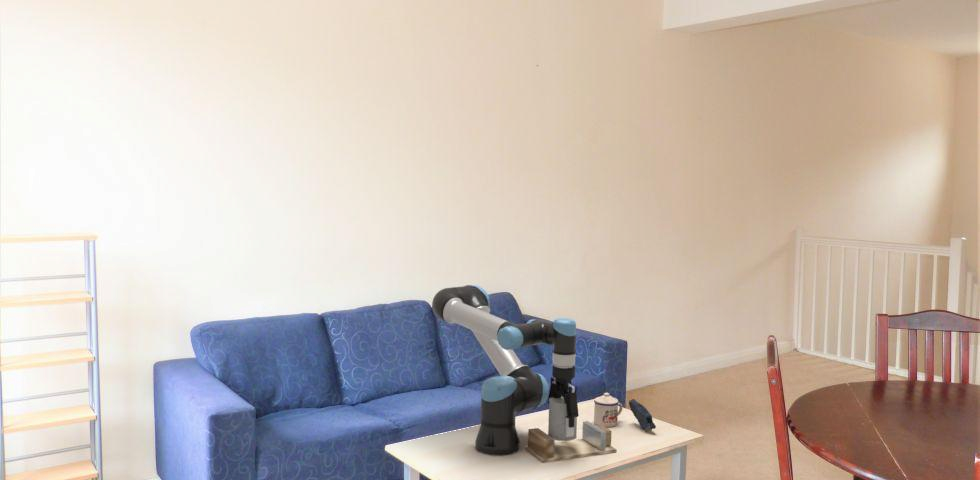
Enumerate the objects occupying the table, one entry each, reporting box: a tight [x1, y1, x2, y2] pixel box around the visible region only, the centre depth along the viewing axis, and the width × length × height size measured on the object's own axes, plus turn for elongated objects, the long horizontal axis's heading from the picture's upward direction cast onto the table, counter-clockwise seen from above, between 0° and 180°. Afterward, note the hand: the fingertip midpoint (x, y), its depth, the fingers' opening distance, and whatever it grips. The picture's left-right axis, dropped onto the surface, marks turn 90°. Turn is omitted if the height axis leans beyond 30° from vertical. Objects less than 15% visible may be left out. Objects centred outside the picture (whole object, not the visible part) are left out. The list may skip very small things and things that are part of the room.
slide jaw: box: [581, 420, 612, 450], centre depth 265 cm, size 6×12×6 cm, turn 23°
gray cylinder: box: [547, 396, 579, 442], centre depth 258 cm, size 10×10×12 cm
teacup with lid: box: [593, 392, 623, 428], centre depth 290 cm, size 12×9×12 cm
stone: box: [628, 398, 657, 431], centre depth 284 cm, size 14×6×10 cm, turn 39°
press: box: [524, 427, 617, 463], centre depth 260 cm, size 28×13×7 cm, turn 113°
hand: (562, 431), depth 259 cm, fingers closed on gray cylinder, 9 cm apart
